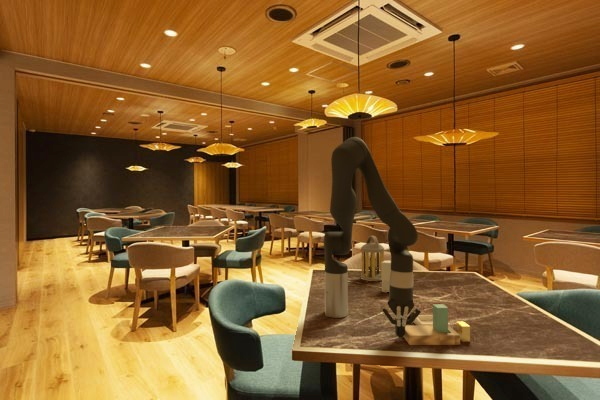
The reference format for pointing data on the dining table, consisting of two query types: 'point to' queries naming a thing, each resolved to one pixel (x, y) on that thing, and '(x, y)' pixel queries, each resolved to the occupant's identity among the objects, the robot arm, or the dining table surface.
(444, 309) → the peg
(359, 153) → the robot arm
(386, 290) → the skincare box
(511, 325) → the dining table surface
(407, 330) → the flat wooden block
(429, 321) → the dish
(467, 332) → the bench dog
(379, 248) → the lantern
